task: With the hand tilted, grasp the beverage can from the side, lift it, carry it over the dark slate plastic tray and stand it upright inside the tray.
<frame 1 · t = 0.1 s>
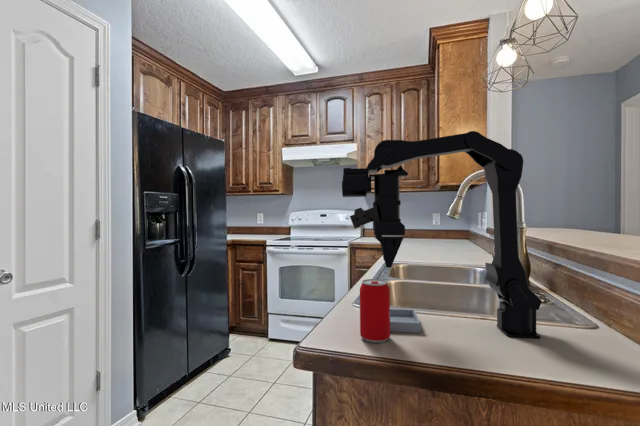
hand: (387, 264, 75), 14 cm above the worktop, tool pointing down, fingers open, 9 cm apart
beverage can: (374, 339, 68), on the worktop
tray: (395, 323, 77), on the worktop
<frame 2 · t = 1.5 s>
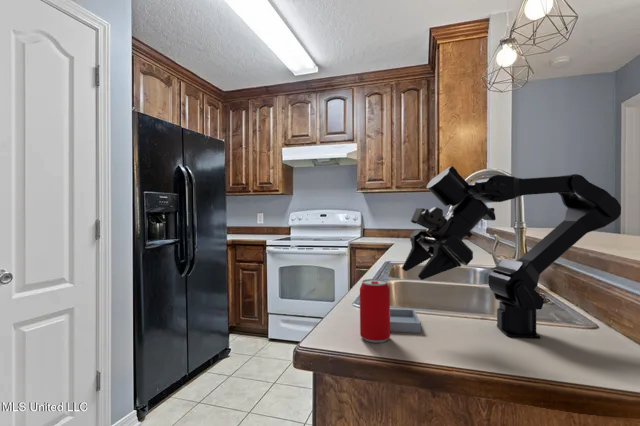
hand: (411, 273, 69), 13 cm above the worktop, tool tilted 45°, fingers open, 9 cm apart
nothing on the worktop moved.
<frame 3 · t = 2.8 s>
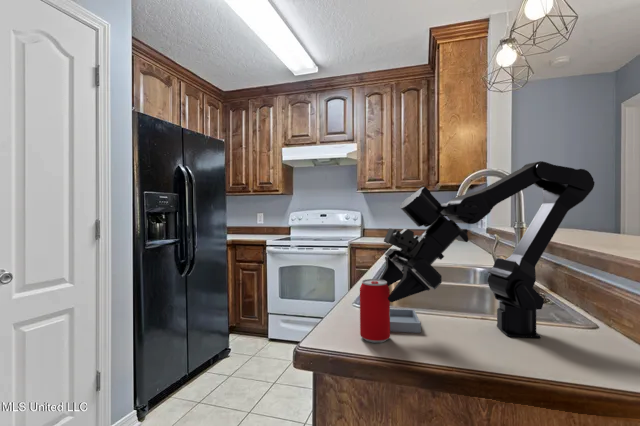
hand: (382, 294, 69), 9 cm above the worktop, tool tilted 45°, fingers open, 9 cm apart
nothing on the worktop moved.
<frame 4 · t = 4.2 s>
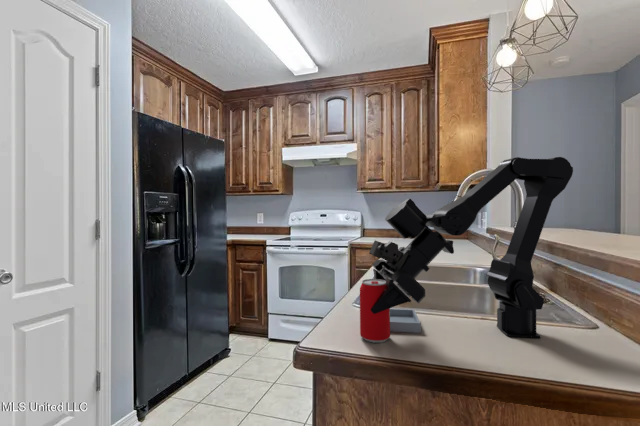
hand: (368, 307, 68), 7 cm above the worktop, tool tilted 45°, fingers closed on beverage can, 6 cm apart
beverage can: (374, 339, 68), on the worktop, touching gripper
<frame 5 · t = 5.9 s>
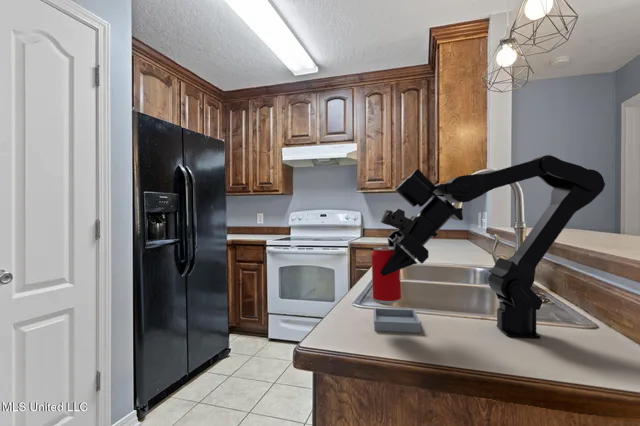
hand: (380, 271, 74), 13 cm above the worktop, tool tilted 45°, fingers closed on beverage can, 6 cm apart
beverage can: (386, 301, 73), point 6 cm above the worktop, touching gripper
when the fingers open (8 cm above the worktop, at t = 7.9 s): beverage can drops 1 cm, resting on tray.
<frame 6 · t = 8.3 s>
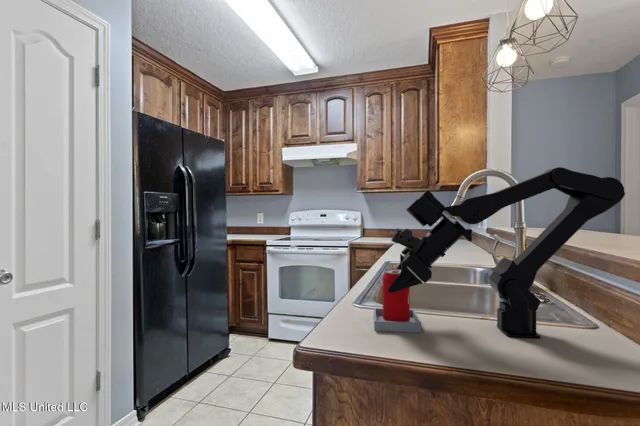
hand: (389, 286, 77), 9 cm above the worktop, tool tilted 45°, fingers open, 9 cm apart
beverage can: (396, 322, 77), resting on tray
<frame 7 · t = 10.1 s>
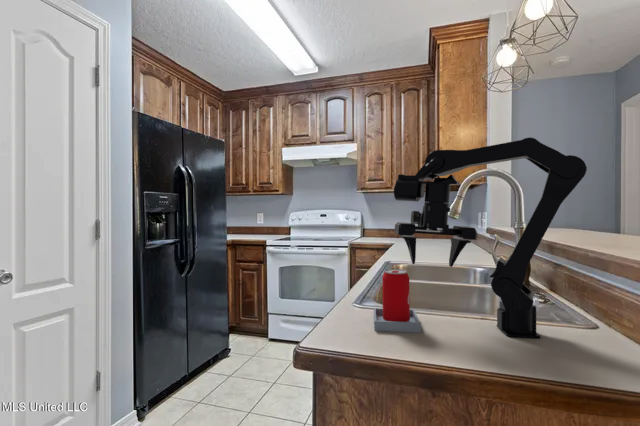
hand: (431, 265, 81), 13 cm above the worktop, tool pointing down, fingers open, 9 cm apart
nothing on the worktop moved.
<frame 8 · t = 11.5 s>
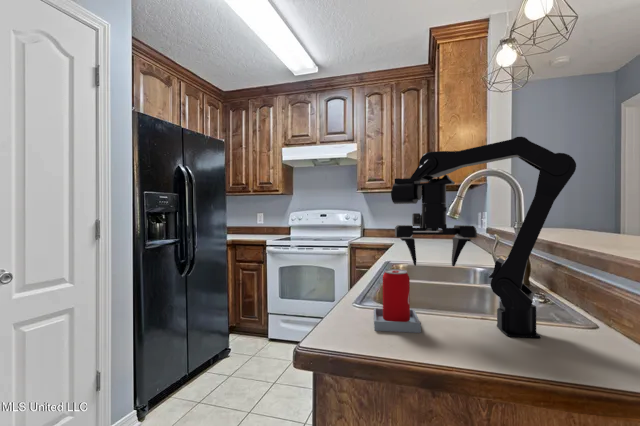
hand: (433, 265, 82), 13 cm above the worktop, tool pointing down, fingers open, 9 cm apart
nothing on the worktop moved.
at the end: beverage can inside the target area on the tray (0.2 cm from its centre), point 0.4 cm above the tray's base; beverage can tilted 0°; the gripper is holding nothing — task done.
